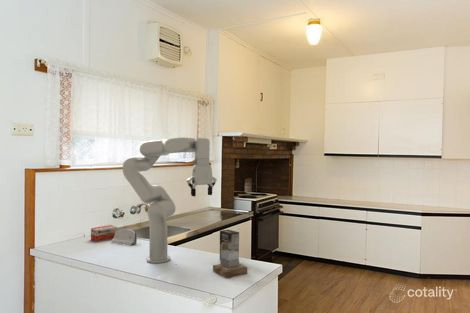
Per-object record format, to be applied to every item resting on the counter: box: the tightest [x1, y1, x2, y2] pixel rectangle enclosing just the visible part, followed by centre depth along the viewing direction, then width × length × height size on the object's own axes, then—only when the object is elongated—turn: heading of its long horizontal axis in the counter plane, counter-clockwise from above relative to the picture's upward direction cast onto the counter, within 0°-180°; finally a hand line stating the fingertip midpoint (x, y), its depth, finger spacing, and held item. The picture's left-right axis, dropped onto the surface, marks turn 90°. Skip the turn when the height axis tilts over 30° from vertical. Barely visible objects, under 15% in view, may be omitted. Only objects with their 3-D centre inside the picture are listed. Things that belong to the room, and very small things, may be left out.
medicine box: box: [90, 224, 118, 243], centre depth 239 cm, size 15×8×8 cm, turn 138°
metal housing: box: [219, 249, 240, 269], centre depth 171 cm, size 6×7×7 cm
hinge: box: [110, 228, 138, 246], centre depth 228 cm, size 17×5×10 cm, turn 67°
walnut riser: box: [212, 263, 248, 279], centre depth 171 cm, size 12×12×3 cm
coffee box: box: [219, 229, 240, 257], centre depth 189 cm, size 9×6×16 cm
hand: (201, 195), depth 181 cm, fingers open, 9 cm apart
